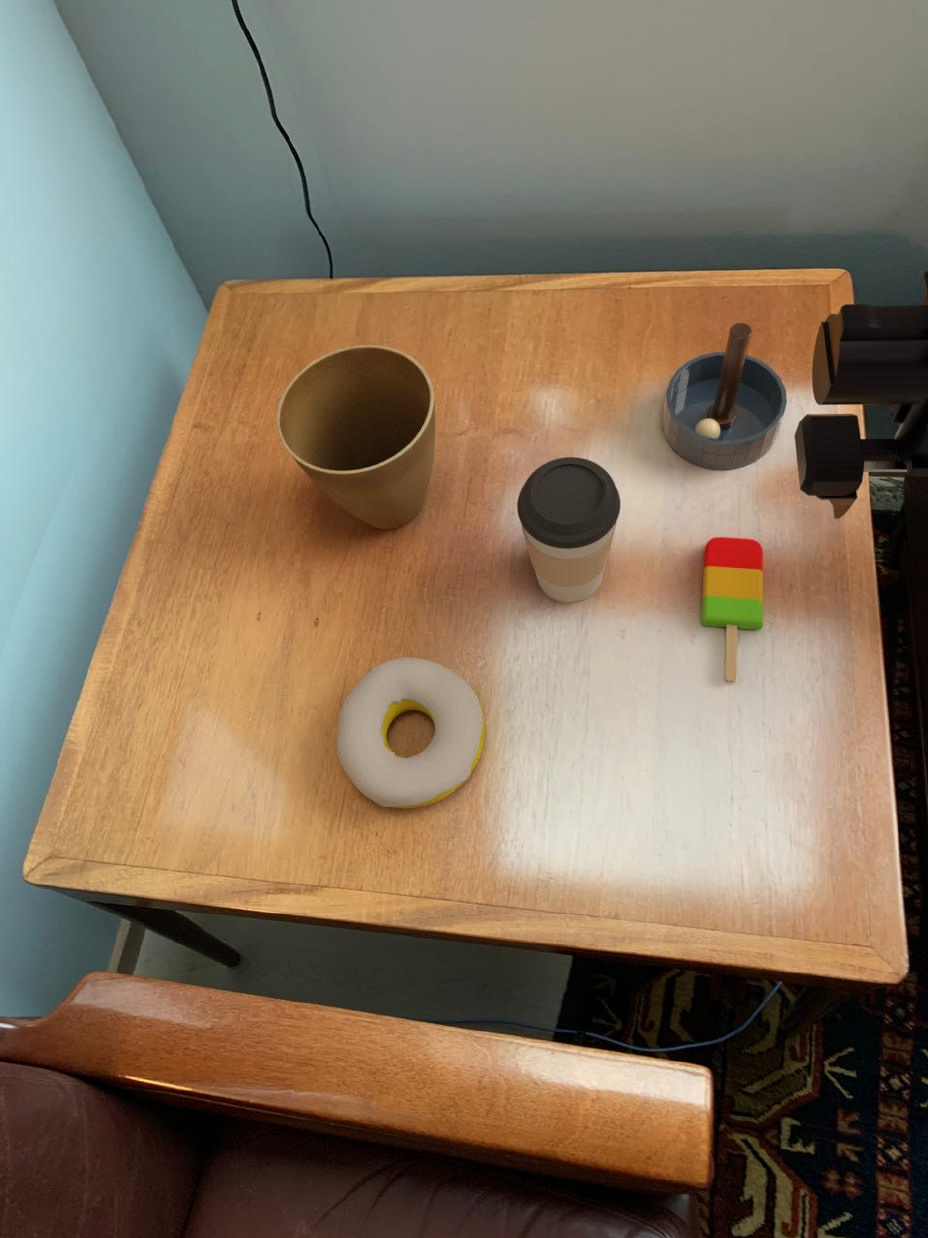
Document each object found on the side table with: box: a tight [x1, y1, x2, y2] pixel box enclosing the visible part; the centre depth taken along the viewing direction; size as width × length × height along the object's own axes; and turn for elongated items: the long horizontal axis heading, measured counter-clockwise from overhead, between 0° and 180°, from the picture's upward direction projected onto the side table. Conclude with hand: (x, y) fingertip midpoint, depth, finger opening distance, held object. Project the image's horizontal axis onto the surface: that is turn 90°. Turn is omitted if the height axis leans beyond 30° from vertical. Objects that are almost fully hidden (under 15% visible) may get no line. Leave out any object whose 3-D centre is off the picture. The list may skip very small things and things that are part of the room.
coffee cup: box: [516, 456, 621, 604], centre depth 81 cm, size 9×9×15 cm
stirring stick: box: [706, 322, 753, 430], centre depth 87 cm, size 3×3×13 cm
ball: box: [695, 418, 720, 439], centre depth 91 cm, size 3×3×3 cm
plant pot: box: [276, 344, 436, 531], centre depth 87 cm, size 15×15×16 cm
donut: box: [336, 656, 487, 809], centre depth 80 cm, size 14×14×5 cm
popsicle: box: [701, 536, 764, 683], centre depth 83 cm, size 6×15×2 cm, turn 172°
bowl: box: [662, 351, 788, 471], centre depth 91 cm, size 12×12×4 cm
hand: (894, 514), depth 72 cm, fingers open, 9 cm apart
